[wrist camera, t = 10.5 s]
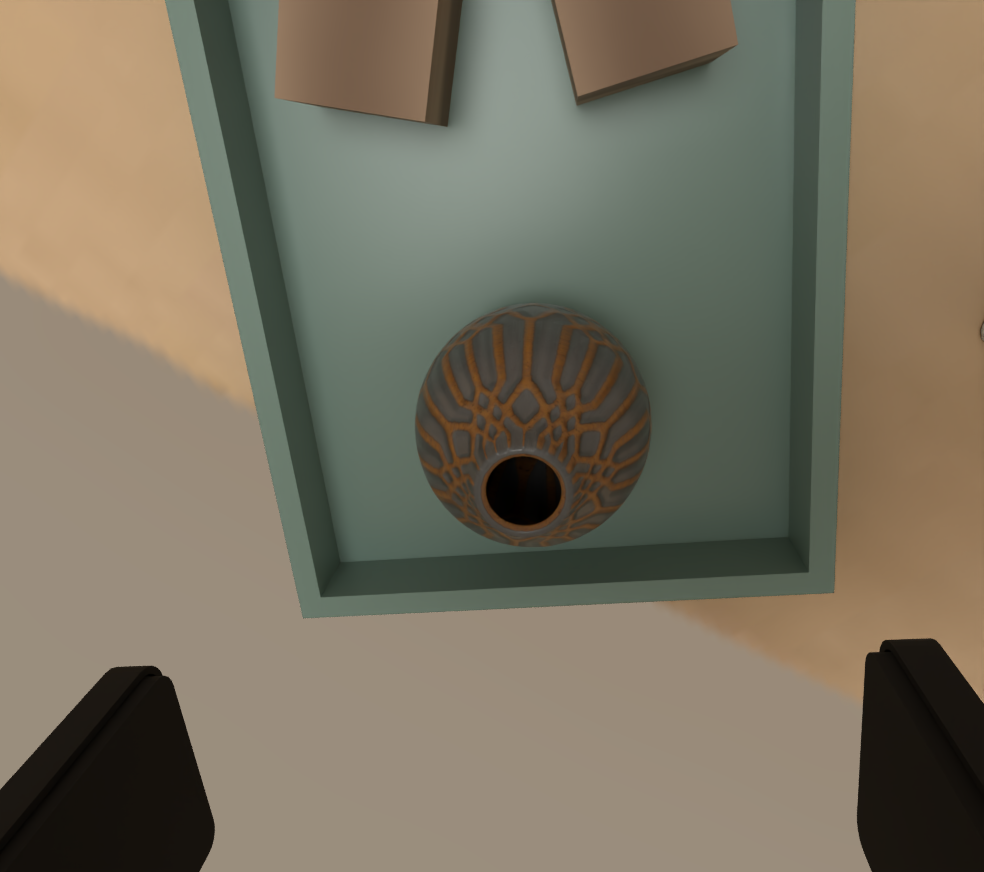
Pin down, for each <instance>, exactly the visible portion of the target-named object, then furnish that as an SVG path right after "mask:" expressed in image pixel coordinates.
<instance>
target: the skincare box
mask: <svg viewBox="0 0 984 872" xmlns="http://www.w3.org/2000/svg"><path fill="white" fill-rule="evenodd" d="M981 336H982V340H983V341H984V323H983V326H982V328H981Z"/></svg>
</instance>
